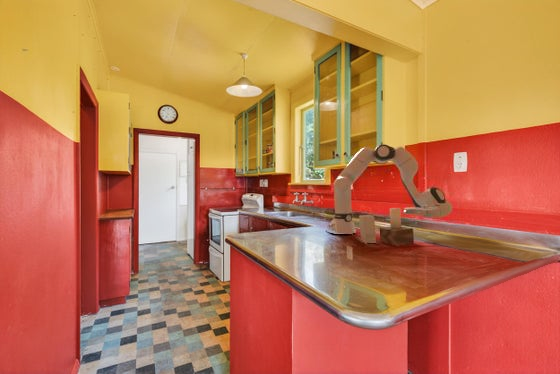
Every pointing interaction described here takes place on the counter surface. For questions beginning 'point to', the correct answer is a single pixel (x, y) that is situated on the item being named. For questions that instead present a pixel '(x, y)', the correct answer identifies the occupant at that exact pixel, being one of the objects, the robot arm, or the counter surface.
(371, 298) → the counter surface
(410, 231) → the walnut base
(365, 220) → the skincare box
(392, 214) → the cream canister
